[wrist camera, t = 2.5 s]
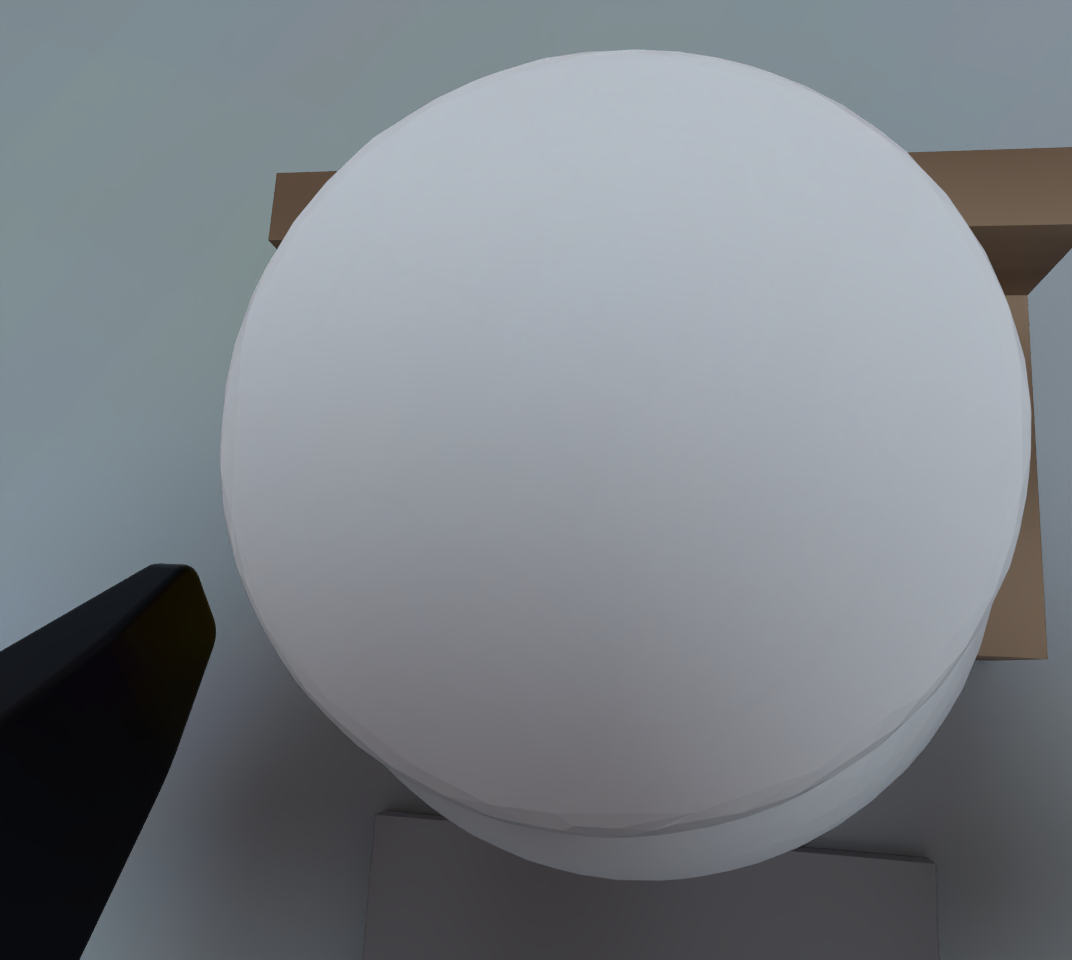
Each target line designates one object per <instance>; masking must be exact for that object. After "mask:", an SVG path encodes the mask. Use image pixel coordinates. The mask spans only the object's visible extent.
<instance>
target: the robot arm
mask: <svg viewBox="0 0 1072 960" xmlns="http://www.w3.org/2000/svg"><path fill="white" fill-rule="evenodd" d="M215 637H216V627H215V621H214V618H213V615H212V612H211V610H210V607H209V604H208V601H207V598H206V596H205V593H204V590H203V587H202V585H201V582H200V579H199V576H198V574H197V572H196V571H195V570H194V569H193V568H192V567H190V566H188V565H184V564H153V565H150V566H148V567H146V568H144V569H142V570H141V571H139V572H137V573H135V574H134V575H132V576H130V577H128V578H127V579H125V580H123V581H122V582H120V583H118V584H116V585H115V586H113V587H111V588H109V589H108V590H106V591H104V592H102V593H101V594H99V595H97V596H96V597H94V598H92V599H90V600H89V601H87V602H85V603H83V604H82V605H80V606H78V607H76V608H75V609H73V610H71V611H70V612H68V613H66V614H64V615H63V616H61V617H59V618H57V619H56V620H54V621H52V622H51V623H49V624H47V625H45V626H44V627H42V628H40V629H38V630H37V631H35V632H33V633H31V634H30V635H28V636H26V637H25V638H23V639H21V640H19V641H18V642H16V643H14V644H12V645H11V646H9V647H7V648H5V649H4V650H2V651H0V960H80V958H81V955H82V953H83V951H84V949H85V947H86V945H87V943H88V941H89V939H90V937H91V934H92V932H93V930H94V928H95V926H96V924H97V922H98V920H99V918H100V916H101V914H102V911H103V909H104V907H105V905H106V903H107V901H108V899H109V897H110V895H111V893H112V890H113V888H114V886H115V884H116V882H117V880H118V878H119V876H120V874H121V872H122V869H123V867H124V865H125V863H126V861H127V859H128V857H129V855H130V853H131V851H132V849H133V846H134V844H135V842H136V840H137V838H138V836H139V834H140V832H141V830H142V828H143V825H144V823H145V821H146V819H147V817H148V815H149V813H150V811H151V809H152V807H153V804H154V802H155V800H156V798H157V796H158V794H159V792H160V790H161V787H162V785H163V783H164V781H165V778H166V776H167V774H168V772H169V769H170V767H171V764H172V761H173V759H174V756H175V754H176V751H177V748H178V746H179V743H180V740H181V737H182V734H183V731H184V729H185V726H186V723H187V720H188V717H189V714H190V712H191V709H192V706H193V703H194V700H195V697H196V695H197V692H198V689H199V686H200V683H201V681H202V678H203V675H204V672H205V669H206V666H207V664H208V661H209V658H210V655H211V652H212V649H213V646H214V643H215Z"/></svg>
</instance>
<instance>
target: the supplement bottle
mask: <svg viewBox="0 0 1072 960" xmlns="http://www.w3.org/2000/svg"><path fill="white" fill-rule="evenodd" d="M1030 457H1031V403H1030V394H1029V387H1028V379H1027V371H1026V363H1025V358H1024V354H1023V351H1022V347H1021V343H1020V340H1019V336H1018V333H1017V329H1016V326H1015V323H1014V320H1013V317H1012V314H1011V311H1010V308H1009V305H1008V302H1007V300H1006V298H1005V295H1004V293H1003V290H1002V288H1001V285H1000V283H999V281H998V279H997V276H996V274H995V272H994V270H993V268H992V265H991V263H990V261H989V259H988V256H987V254H986V252H985V250H984V249H983V247H982V246H981V244H980V243H979V241H978V240H977V238H976V237H975V235H974V234H973V232H972V231H971V229H970V228H969V226H968V225H967V223H966V222H965V220H964V219H963V217H962V216H961V214H960V213H959V211H958V210H957V209H956V207H955V206H954V204H953V203H952V201H951V200H950V198H949V197H948V195H947V194H946V193H945V192H944V191H943V190H942V189H941V188H940V187H939V186H938V185H937V184H936V183H935V182H934V181H933V180H932V179H931V177H930V176H929V175H928V174H927V173H926V172H925V171H924V170H923V169H922V168H921V167H920V166H919V165H918V164H917V163H916V162H915V161H914V159H913V158H912V157H911V156H910V155H909V154H908V153H907V152H906V151H905V150H904V149H902V148H901V147H900V146H899V145H897V144H896V143H895V142H894V141H893V140H891V139H890V138H889V137H888V136H886V135H885V134H884V133H883V132H881V131H880V130H879V129H877V128H876V127H874V126H873V125H871V124H870V123H868V122H867V121H865V120H864V119H862V118H861V117H859V116H858V115H856V114H855V113H853V112H852V111H850V110H849V109H848V108H846V107H845V106H843V105H841V104H840V103H838V102H836V101H834V100H832V99H830V98H828V97H826V96H824V95H822V94H820V93H818V92H816V91H815V90H813V89H811V88H809V87H807V86H804V85H802V84H799V83H796V82H794V81H791V80H789V79H786V78H784V77H781V76H779V75H776V74H773V73H771V72H768V71H765V70H762V69H759V68H756V67H753V66H750V65H746V64H742V63H738V62H734V61H730V60H726V59H722V58H717V57H711V56H704V55H697V54H690V53H684V52H674V51H657V50H620V51H596V52H582V53H575V54H569V55H563V56H556V57H550V58H543V59H540V60H537V61H533V62H530V63H527V64H523V65H520V66H517V67H513V68H510V69H507V70H503V71H500V72H497V73H494V74H491V75H488V76H485V77H482V78H480V79H478V80H475V81H473V82H471V83H468V84H466V85H464V86H462V87H460V88H458V89H456V90H454V91H451V92H449V93H447V94H445V95H443V96H441V97H439V98H437V99H435V100H433V101H431V102H430V103H428V104H426V105H425V106H423V107H421V108H419V109H418V110H416V111H415V112H413V113H411V114H410V115H408V116H407V117H405V118H404V119H402V120H400V121H399V122H397V123H396V124H394V125H393V126H391V127H389V128H388V129H386V130H385V131H383V132H381V133H380V134H378V135H377V136H375V137H374V138H373V139H372V140H370V141H369V142H368V143H367V144H366V145H365V146H364V147H363V148H361V149H360V150H359V151H358V152H357V153H356V154H355V155H354V156H353V157H352V158H351V159H350V160H349V161H348V162H347V163H346V164H345V165H344V166H343V167H342V168H341V169H339V170H338V171H337V172H336V173H335V174H334V175H333V176H332V177H331V178H330V179H329V180H328V181H327V182H326V183H325V184H324V186H323V187H322V188H321V189H320V190H319V192H318V193H317V194H316V195H315V197H314V198H313V199H312V200H311V201H310V203H309V204H308V205H307V206H306V207H305V209H304V210H303V211H302V212H301V214H300V215H299V216H298V217H297V218H296V220H295V221H294V222H293V224H292V226H291V227H290V229H289V231H288V232H287V234H286V236H285V237H284V239H283V240H282V242H281V244H280V245H279V247H278V249H277V250H276V252H275V253H274V255H273V257H272V258H271V260H270V262H269V263H268V265H267V267H266V268H265V270H264V272H263V275H262V277H261V279H260V281H259V283H258V285H257V287H256V289H255V291H254V293H253V295H252V297H251V300H250V302H249V305H248V308H247V311H246V314H245V317H244V320H243V322H242V325H241V328H240V331H239V334H238V337H237V339H236V342H235V346H234V351H233V355H232V359H231V363H230V368H229V372H228V376H227V380H226V389H225V400H224V410H223V421H222V431H221V442H220V468H221V482H222V495H223V507H224V514H225V519H226V524H227V529H228V534H229V539H230V543H231V547H232V551H233V554H234V558H235V562H236V566H237V569H238V572H239V575H240V578H241V580H242V583H243V585H244V588H245V590H246V593H247V595H248V598H249V600H250V602H251V604H252V606H253V609H254V611H255V613H256V615H257V617H258V619H259V621H260V624H261V626H262V627H263V629H264V631H265V633H266V634H267V636H268V638H269V640H270V641H271V643H272V645H273V646H274V648H275V650H276V652H277V653H278V655H279V657H280V659H281V660H282V662H283V663H284V665H285V666H286V668H287V669H288V671H289V672H290V673H291V675H292V676H293V678H294V679H295V681H296V682H297V684H298V685H299V687H300V688H301V689H302V690H303V691H304V692H305V693H306V694H307V696H308V697H309V698H310V699H311V700H312V701H313V702H314V703H315V704H316V705H317V707H318V708H319V709H320V710H321V711H322V712H323V713H324V714H325V715H326V716H327V717H328V718H329V719H330V720H331V721H332V722H333V723H334V724H335V725H336V726H337V727H338V728H339V729H340V730H341V731H342V732H343V733H344V734H345V735H346V736H347V737H349V738H350V739H351V740H352V741H353V742H354V743H355V744H356V745H357V746H358V747H359V748H361V749H362V750H364V751H365V752H366V753H368V754H369V755H370V756H372V757H373V758H375V759H376V760H377V761H379V762H380V763H381V764H383V765H384V766H386V767H387V768H388V770H389V771H390V772H391V773H392V774H393V775H394V776H395V777H396V778H398V779H399V780H400V781H401V782H402V783H403V784H404V785H405V786H406V787H407V788H408V789H410V790H411V791H412V792H413V793H414V794H416V795H417V796H418V797H419V798H420V799H422V800H423V801H424V802H425V803H426V804H427V805H429V806H430V807H431V808H433V809H434V810H436V811H437V812H438V813H440V814H441V815H443V816H444V817H445V818H447V819H448V820H450V821H451V822H453V823H454V824H456V825H457V826H459V827H461V828H462V829H464V830H465V831H467V832H468V833H470V834H471V835H473V836H475V837H478V838H480V839H482V840H484V841H486V842H488V843H490V844H492V845H494V846H496V847H499V848H501V849H503V850H505V851H508V852H510V853H512V854H514V855H517V856H519V857H521V858H524V859H526V860H528V861H532V862H535V863H538V864H542V865H545V866H548V867H552V868H555V869H559V870H563V871H567V872H571V873H575V874H579V875H586V876H593V877H600V878H607V879H614V880H653V881H662V880H677V879H686V878H693V877H700V876H706V875H711V874H716V873H721V872H726V871H731V870H735V869H738V868H742V867H746V866H750V865H753V864H757V863H760V862H762V861H765V860H768V859H770V858H773V857H775V856H778V855H780V854H783V853H786V852H788V851H791V850H793V849H796V848H798V847H800V846H802V845H804V844H806V843H808V842H810V841H811V840H813V839H815V838H817V837H819V836H821V835H823V834H824V833H826V832H828V831H830V830H831V829H833V828H835V827H837V826H838V825H840V824H841V823H842V822H844V821H845V820H847V819H848V818H849V817H851V816H852V815H853V814H855V813H856V812H858V811H859V810H860V809H862V808H863V807H864V806H866V805H867V804H868V803H870V802H871V801H873V800H874V799H875V798H876V797H877V796H878V795H879V794H880V793H881V792H883V791H884V790H885V789H886V788H887V787H888V786H889V785H890V784H891V783H892V782H893V781H894V780H895V779H897V778H898V777H899V776H900V775H901V774H902V773H903V772H904V771H905V770H906V769H907V768H908V767H909V766H910V765H911V764H912V762H913V761H914V760H915V759H916V758H917V757H918V755H919V754H920V753H921V752H922V751H923V750H924V748H925V747H926V746H927V745H928V743H929V742H930V741H931V739H932V738H933V736H934V735H935V733H936V732H937V730H938V729H939V727H940V726H941V725H942V723H943V722H944V720H945V719H946V717H947V715H948V714H949V712H950V710H951V709H952V707H953V705H954V703H955V702H956V700H957V698H958V697H959V695H960V693H961V691H962V690H963V688H964V685H965V683H966V681H967V678H968V676H969V673H970V671H971V668H972V666H973V664H974V661H975V659H976V656H977V654H978V652H979V649H980V646H981V643H982V639H983V636H984V632H985V629H986V625H987V621H988V618H989V614H990V611H991V607H992V604H993V602H994V599H995V597H996V595H997V593H998V591H999V589H1000V587H1001V585H1002V582H1003V580H1004V578H1005V576H1006V574H1007V572H1008V570H1009V568H1010V565H1011V561H1012V558H1013V554H1014V550H1015V547H1016V543H1017V540H1018V536H1019V533H1020V528H1021V522H1022V517H1023V512H1024V507H1025V502H1026V496H1027V488H1028V480H1029V470H1030Z"/></svg>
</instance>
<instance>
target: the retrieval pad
mask: <svg viewBox="0 0 1072 960" xmlns="http://www.w3.org/2000/svg"><path fill="white" fill-rule="evenodd" d="M363 960H939V950H938V917H937V884H936V864H935V863H934V862H933V861H931V860H930V859H929V858H923V857H911V856H900V855H888V854H877V853H865V852H854V851H842V850H831V849H819V848H808V847H798V848H796V849H793V850H791V851H788V852H786V853H783V854H780V855H778V856H775V857H773V858H770V859H768V860H765V861H762V862H760V863H757V864H753V865H750V866H746V867H742V868H738V869H735V870H731V871H726V872H721V873H716V874H711V875H706V876H700V877H693V878H686V879H677V880H662V881H653V880H614V879H607V878H600V877H593V876H586V875H579V874H575V873H571V872H567V871H563V870H559V869H555V868H552V867H548V866H545V865H542V864H538V863H535V862H532V861H528V860H526V859H524V858H521V857H519V856H517V855H514V854H512V853H510V852H508V851H505V850H503V849H501V848H499V847H496V846H494V845H492V844H490V843H488V842H486V841H484V840H482V839H480V838H478V837H475V836H473V835H471V834H470V833H468V832H467V831H465V830H464V829H462V828H461V827H459V826H457V825H456V824H454V823H453V822H451V821H450V820H448V819H447V818H445V817H444V816H440V815H428V814H417V813H405V812H394V811H382V812H380V813H378V814H375V822H374V833H373V845H372V856H371V868H370V879H369V891H368V902H367V914H366V925H365V937H364V948H363Z"/></svg>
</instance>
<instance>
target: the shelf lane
mask: <svg viewBox="0 0 1072 960" xmlns="http://www.w3.org/2000/svg"><path fill="white" fill-rule="evenodd" d="M908 154H909V155H910V156H911V157H912V158H913V159H914V161H915V162H916V163H917V164H918V165H919V166H920V167H921V168H922V169H923V170H924V171H925V172H926V173H927V174H928V175H929V176H930V177H931V179H932V180H933V181H934V182H935V183H936V184H937V185H938V186H939V187H940V188H941V189H942V190H943V191H944V192H945V193H946V194H947V195H948V197H949V198H950V200H951V201H952V203H953V204H954V206H955V207H956V209H957V210H958V211H959V213H960V214H961V216H962V217H963V219H964V220H965V222H966V223H967V225H968V226H969V228H970V229H971V231H972V232H973V234H974V235H975V237H976V238H977V240H978V241H979V243H980V244H981V246H982V247H983V249H984V250H985V252H986V254H987V256H988V259H989V261H990V263H991V265H992V268H993V270H994V272H995V274H996V276H997V279H998V281H999V283H1000V285H1001V288H1002V290H1003V293H1004V295H1005V298H1006V300H1007V302H1008V305H1009V308H1010V311H1011V314H1012V317H1013V320H1014V323H1015V326H1016V329H1017V333H1018V336H1019V340H1020V343H1021V347H1022V351H1023V354H1024V358H1025V363H1026V371H1027V379H1028V387H1029V394H1030V403H1031V457H1030V470H1029V480H1028V488H1027V496H1026V502H1025V507H1024V512H1023V517H1022V522H1021V528H1020V533H1019V536H1018V540H1017V543H1016V547H1015V550H1014V554H1013V558H1012V561H1011V565H1010V568H1009V570H1008V572H1007V574H1006V576H1005V578H1004V580H1003V582H1002V585H1001V587H1000V589H999V591H998V593H997V595H996V597H995V599H994V602H993V604H992V607H991V611H990V614H989V618H988V621H987V625H986V629H985V632H984V636H983V639H982V643H981V646H980V649H979V652H978V654H977V656H976V659H975V660H1030V659H1048V657H1047V639H1046V621H1045V603H1044V585H1043V567H1042V549H1041V531H1040V513H1039V496H1038V478H1037V460H1036V442H1035V424H1034V406H1033V388H1032V370H1031V352H1030V334H1029V316H1028V298H1027V295H1028V294H1029V293H1030V292H1031V291H1032V290H1033V289H1034V288H1035V287H1036V286H1037V285H1038V283H1039V282H1040V281H1041V280H1042V279H1043V278H1044V277H1045V276H1046V275H1047V274H1048V273H1049V272H1050V271H1051V270H1052V269H1053V267H1054V266H1055V265H1056V264H1057V263H1058V262H1059V261H1060V260H1061V259H1062V258H1063V257H1064V256H1065V255H1066V254H1067V253H1068V252H1069V250H1070V249H1071V248H1072V147H1064V148H1033V149H1002V150H972V151H941V152H911V153H908ZM336 172H337V171H329V172H298V173H277V176H276V184H275V192H274V200H273V208H272V216H271V224H270V232H269V241H270V242H271V243H272V244H273V245H274V247H275V248H276V249H278V247H279V245H280V244H281V242H282V240H283V239H284V237H285V236H286V234H287V232H288V231H289V229H290V227H291V226H292V224H293V222H294V221H295V220H296V218H297V217H298V216H299V215H300V214H301V212H302V211H303V210H304V209H305V207H306V206H307V205H308V204H309V203H310V201H311V200H312V199H313V198H314V197H315V195H316V194H317V193H318V192H319V190H320V189H321V188H322V187H323V186H324V184H325V183H326V182H327V181H328V180H329V179H330V178H331V177H332V176H333V175H334V174H335V173H336Z"/></svg>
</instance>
